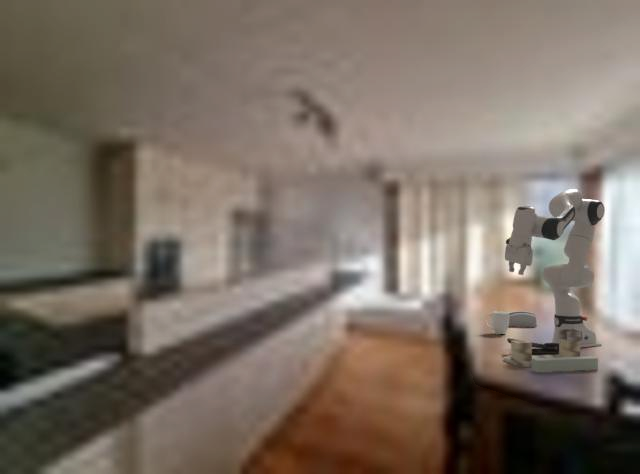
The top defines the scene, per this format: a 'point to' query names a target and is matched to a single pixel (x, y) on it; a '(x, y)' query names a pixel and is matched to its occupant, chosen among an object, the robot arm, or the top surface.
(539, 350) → the zipper pull
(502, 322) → the mug
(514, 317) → the grey curved block
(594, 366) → the rail
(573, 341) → the rail posts
